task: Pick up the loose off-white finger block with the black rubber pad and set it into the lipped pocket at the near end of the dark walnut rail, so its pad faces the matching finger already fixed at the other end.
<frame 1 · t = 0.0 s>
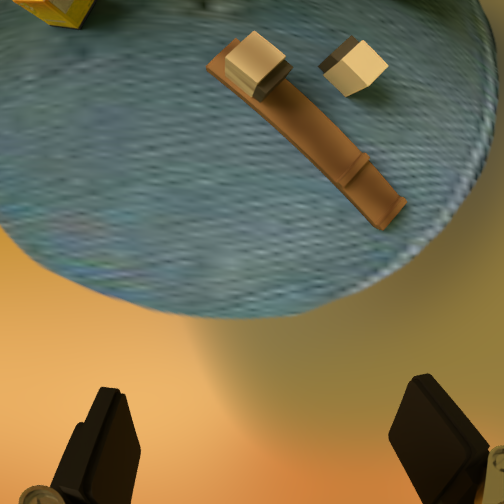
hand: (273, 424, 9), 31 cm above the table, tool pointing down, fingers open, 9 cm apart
supplement box: (74, 11, 29), on the table
rail: (310, 133, 37), on the table
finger: (343, 76, 35), on the table
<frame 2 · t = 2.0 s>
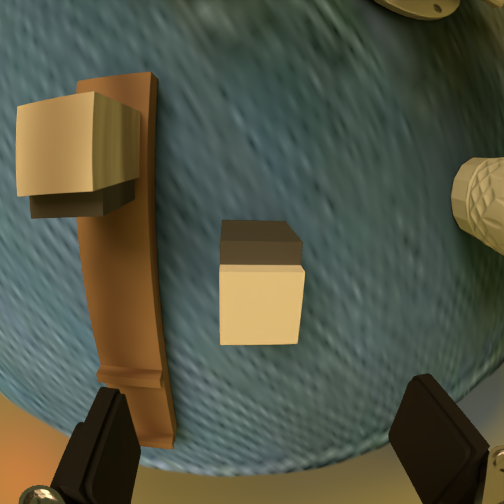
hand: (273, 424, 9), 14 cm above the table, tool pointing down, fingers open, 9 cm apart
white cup: (475, 195, 22), on the table
rail: (126, 287, 22), on the table
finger: (251, 263, 22), on the table
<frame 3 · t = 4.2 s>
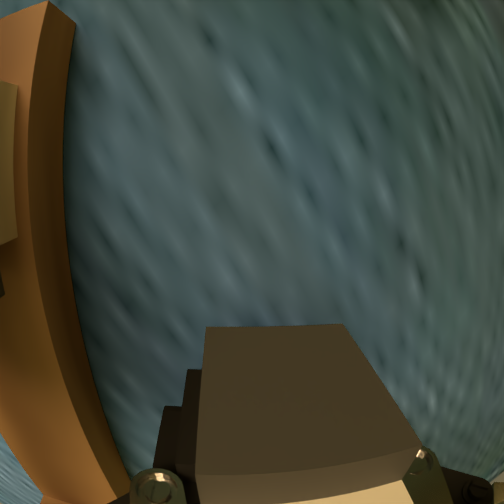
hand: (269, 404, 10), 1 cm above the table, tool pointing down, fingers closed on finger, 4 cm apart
rail: (55, 408, 11), on the table
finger: (266, 388, 11), on the table, touching gripper
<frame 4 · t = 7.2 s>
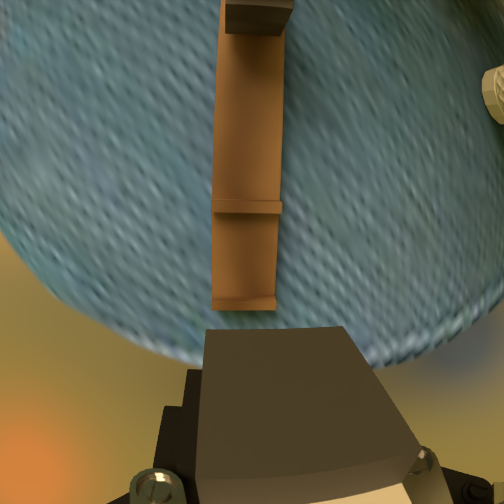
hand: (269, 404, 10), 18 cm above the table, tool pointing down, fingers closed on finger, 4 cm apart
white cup: (497, 97, 24), on the table
rail: (246, 124, 24), on the table
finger: (266, 390, 11), point 17 cm above the table, touching gripper
when the fingers open (4 cm above the table, at t = 10.2 s): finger drops 1 cm, resting on rail.
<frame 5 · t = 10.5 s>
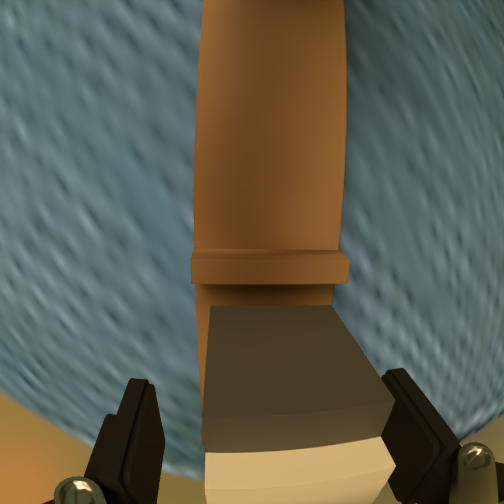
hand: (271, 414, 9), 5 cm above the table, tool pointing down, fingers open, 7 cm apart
rail: (267, 90, 11), on the table
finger: (263, 366, 12), point 2 cm above the table, touching rail
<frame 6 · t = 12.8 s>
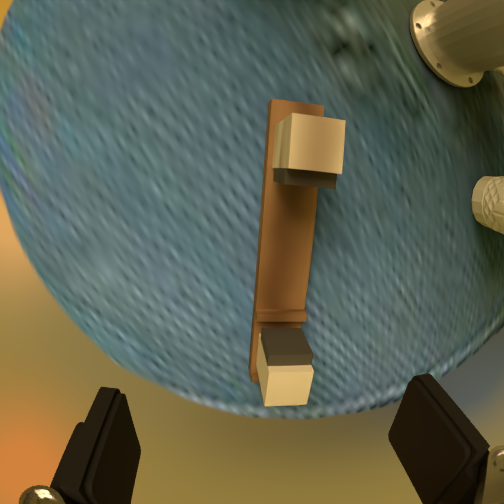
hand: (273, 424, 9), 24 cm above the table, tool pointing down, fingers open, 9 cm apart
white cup: (485, 200, 34), on the table
rail: (282, 248, 33), on the table
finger: (276, 349, 33), point 2 cm above the table, touching rail
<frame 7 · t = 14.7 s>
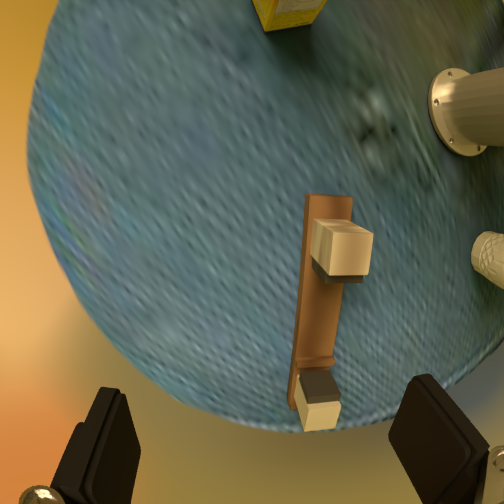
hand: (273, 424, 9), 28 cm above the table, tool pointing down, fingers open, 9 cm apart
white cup: (483, 251, 40), on the table
supplement box: (279, 10, 29), on the table
rail: (315, 310, 40), on the table
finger: (309, 385, 41), point 2 cm above the table, touching rail
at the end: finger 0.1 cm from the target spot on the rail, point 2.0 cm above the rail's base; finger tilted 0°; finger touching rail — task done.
